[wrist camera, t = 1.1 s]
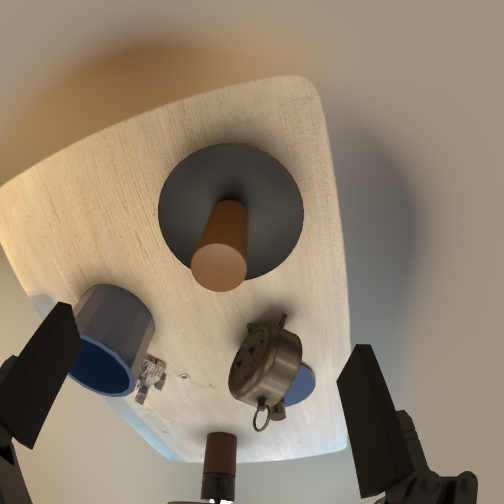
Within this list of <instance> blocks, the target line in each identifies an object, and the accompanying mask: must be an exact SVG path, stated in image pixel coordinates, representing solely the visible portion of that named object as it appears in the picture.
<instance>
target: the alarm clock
mask: <svg viewBox="0 0 504 504" xmlns="http://www.w3.org/2000/svg"><path fill="white" fill-rule="evenodd" d="M286 317H287V315H286V314H283V317H282V320H281V321H280V323H279V325H276V324H274V323H265V324H262V325H260V326H258V327H257V328H256V329H255V330H252V327H251V325H250V324H248V325H247V328H248V331H249V335H248V337H247V338H246V339H245V341H244V342H243V344H242V345H241V347H240V348H239V350H238V352H237V354H236V356H235V358H234V361H233V363H232V366H231V369H230V373H229V380H228V385H229V390H230V393H231V395H232V396H233V397H234V398H235V399H237V400H239V401H242V402H244V403H247V404H249V405H252V406H255V407H257V411H256V413H255V415H254V419H253V426H254V429H255V431H257V432H261V431H263V430H264V429H265V428H266V427H267V425H268V423H269V421H270V415H271V411H270V408H269V407H271V406H273V405H275V404H276V403H278V402H279V401H280V400H281V399H282V398H283V397H284V396H285V395H286V393H287V392H288V391H289V389H290V388H291V386H292V385H293V383H294V381H295V379H296V377H297V374H298V371H299V368H300V365H301V360H302V344H301V340H300V338H299V337H298V336H297V335H296V334H294V333H291V332H289V331H287V330H286V329H284V328H283V327H284V323H285V318H286ZM265 409H268V416H267V420H266V423H265V425H264V426H263V427H262V428H261V429H257V427H256V423H255V422H256V417H257V414H258V412H259V411H264V410H265Z"/></svg>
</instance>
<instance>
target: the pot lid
mask: <svg viewBox="0 0 504 504" xmlns="http://www.w3.org/2000/svg"><path fill="white" fill-rule="evenodd" d="M314 388H315V377H314V375H313V373H312V372H311V371H310V370H309V369H308V368H306V367H305V366H303V365H300V368H299V371H298V374H297V377H296V379H295V381H294V383H293V385H292V386H291V388H290V389H289V391H288V392H287V393H286V395H285V396H284V397H283V398H282V399H281V400H280V401H279V402H278V403H276V404H275V405H273V406H271V407H269V408H270V411H271V415H270V419H271V420H273V421H280V420H283V419H285V418H286V411H285V407H287V406H291V405H294V404H297V403H299V402H301V401H303V400H304V399H306V398H307V397H308V396H309V395H310V394H311V393H312V392H313V390H314Z"/></svg>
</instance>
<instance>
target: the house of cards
mask: <svg viewBox="0 0 504 504" xmlns="http://www.w3.org/2000/svg"><path fill="white" fill-rule="evenodd" d="M156 359H157V358H156ZM156 359H155V358H153V357H151V356H149V355H148V354H147V355H146V358H145V361H144V363H143V366H142V369H141V372H140V375H139V378H138V380H137V383H136V385H137V390H138V394H137V396H136V400H135V401H136V402H138V403H139V404H141V405H143V403H144V401H145V398H146V397H147V393H148V389H149V388H150V387H152V386H154V388H156V389H158V390H160V391H161V390H162V388H163V386H164V384H165V379H166V374H164V373H163V371H164V370H165V368H166V364H164V363H163V362H161V361H159V360H157V361H156ZM179 378H181V379H182V380H186V379H189V378H190V377H189V376H187V375H186V374H185V375H182V376H179ZM153 382H155V383H154V384H153Z"/></svg>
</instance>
